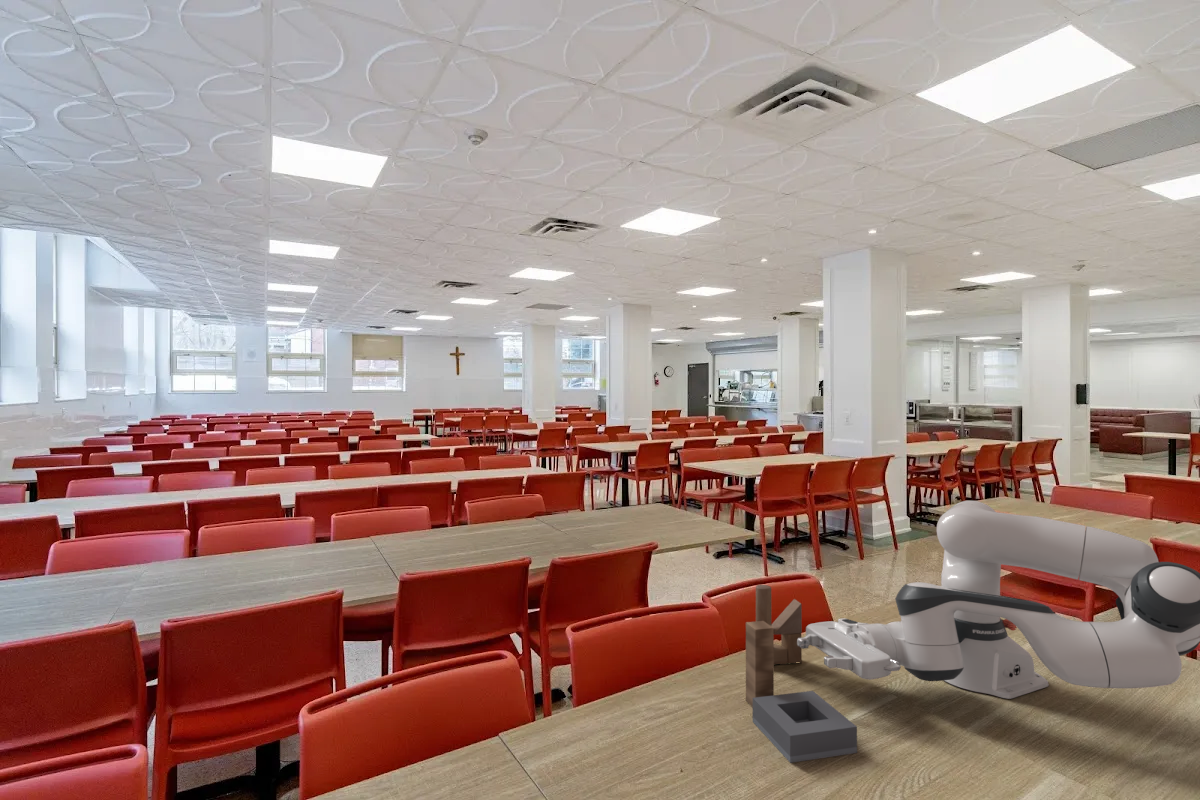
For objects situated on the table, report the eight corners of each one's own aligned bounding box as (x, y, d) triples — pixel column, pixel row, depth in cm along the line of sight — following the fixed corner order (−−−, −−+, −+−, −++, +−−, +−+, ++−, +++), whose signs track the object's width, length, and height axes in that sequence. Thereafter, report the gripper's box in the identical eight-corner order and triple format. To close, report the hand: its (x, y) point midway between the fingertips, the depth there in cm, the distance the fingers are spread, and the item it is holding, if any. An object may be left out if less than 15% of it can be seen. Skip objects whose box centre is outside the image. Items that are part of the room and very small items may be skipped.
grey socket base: (812, 713, 111) (812, 690, 111) (857, 752, 98) (856, 726, 98) (752, 721, 108) (752, 697, 108) (790, 762, 95) (790, 735, 95)
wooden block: (802, 663, 133) (802, 587, 133) (759, 666, 131) (759, 589, 132) (794, 657, 137) (794, 582, 137) (752, 660, 135) (752, 584, 135)
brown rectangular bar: (763, 698, 117) (763, 620, 117) (773, 708, 113) (773, 628, 113) (745, 700, 116) (745, 622, 116) (755, 710, 112) (755, 629, 112)
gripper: (906, 684, 110) (844, 691, 107) (839, 642, 130) (785, 648, 127) (906, 651, 110) (844, 658, 107) (839, 615, 130) (785, 619, 127)
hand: (812, 652), depth 117 cm, fingers open, 8 cm apart
